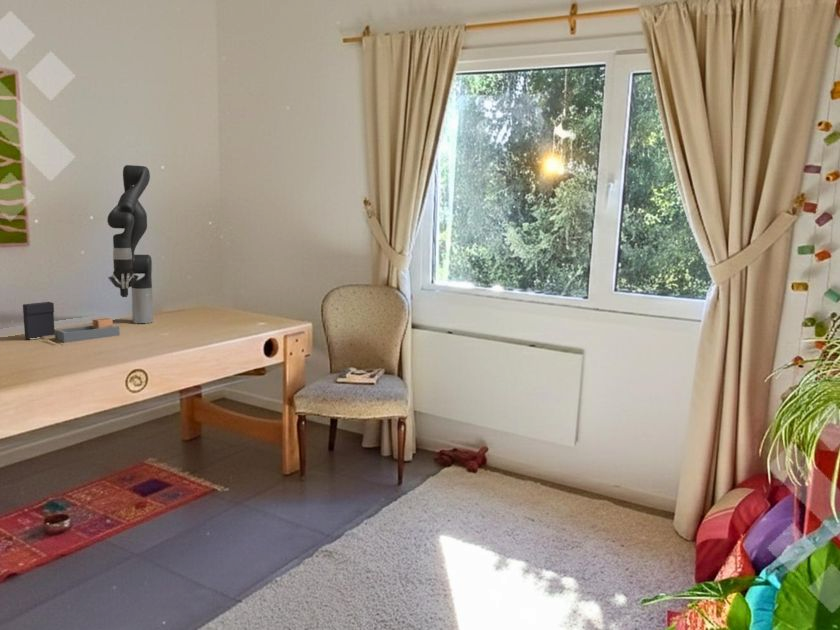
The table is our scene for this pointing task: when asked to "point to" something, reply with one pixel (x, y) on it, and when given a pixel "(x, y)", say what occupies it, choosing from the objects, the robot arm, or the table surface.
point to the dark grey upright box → (38, 319)
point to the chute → (85, 333)
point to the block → (102, 323)
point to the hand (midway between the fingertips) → (124, 296)
